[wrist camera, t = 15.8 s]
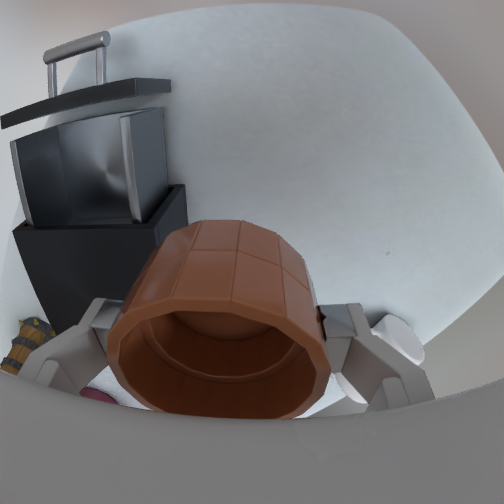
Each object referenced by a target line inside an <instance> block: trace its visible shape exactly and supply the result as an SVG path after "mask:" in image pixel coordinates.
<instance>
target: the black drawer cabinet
mask: <svg viewBox="0 0 504 504" xmlns="http://www.w3.org/2000/svg"><path fill="white" fill-rule="evenodd" d="M168 188H169V195H168V197H167V198H166V199H165V201H164V202H163V203H162V204H161V206H160V207H159V208H158V210H157V211H156V212H155V214H154V215H153V216H152V218H151V219H150V220H149V222H148V223H147V224H93V225H55V226H28V224H27V221H26V220H25V221H24V222H22V223H21V224H20V225H19V226H17V227H16V228H15V229H14V230H13V231H12V232H13V235H14V238H15V241H16V244H17V247H18V250H19V253H20V256H21V258H22V261H23V264H24V266H25V269H26V271H27V274H28V276H29V279H30V281H31V283H32V286H33V288H34V290H35V293H36V295H37V297H38V299H39V302H40V304H41V306H42V308H43V310H44V312H45V314H46V316H47V318H48V320H49V322H50V324H51V326H52V328H53V330H54V332H55V334H56V336H58V335H59V334H61V333H63V332H64V331H66V330H67V329H69V328H71V327H72V326H74V325H77V326H78V324H79V322H80V321H81V319H82V317H83V316H84V314H85V313H86V311H87V309H88V308H89V306H90V305H91V303H92V301H93V300H94V299H95V298H97V297H98V298H107V299H108V298H110V299H120V300H125V299H126V297H127V295H128V293H129V291H130V290H131V288H132V286H133V284H134V283H135V281H136V279H137V277H138V275H139V274H140V272H141V270H142V268H143V266H144V265H145V263H146V261H147V260H148V258H149V256H150V255H151V253H152V252H153V251H154V250H155V249H156V248H157V247H158V245H159V244H160V243H161V242H162V241H163V240H164V239H165V238H166V236H167V235H169V234H170V233H171V232H174V231H176V230H179V229H181V228H183V227H186V226H188V216H187V205H186V193H185V184H173V185H168Z"/></svg>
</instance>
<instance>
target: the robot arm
mask: <svg viewBox="0 0 504 504" xmlns="http://www.w3.org/2000/svg"><path fill="white" fill-rule="evenodd" d="M124 301H125V300H120V299H110V298H108V299H107V298H98V297H97V298H95V299H94V300H93V301H92V303H91V305H90V306H89V308H88V309H87V311H86V313H85V314H84V316H83V317H82V319H81V321H80V322H79V324H78V326H77V325H74V326H72V327H71V328H69V329H67V330H66V331H64V332H63V333H61V334H59V335H58V336H56V337H55V338H53V339H51V340H50V341H48V342H47V343H45V344H43V345H42V346H40V347H39V348H37V349H36V350H34V351H33V352H31V353H30V354H29V356H28V357H27V359H26V360H25V362H24V364H23V366H22V367H21V369H20V371H19V372H18V374H17V376H16V375H13V374H11V373H8V372H6V371H3V370H1V369H0V504H504V378H503V379H500V380H498V381H495V382H492V383H489V384H486V385H483V386H480V387H477V388H474V389H470V390H467V391H464V392H460V393H457V394H453V395H450V396H446V397H442V398H438V399H435V396H434V394H433V391H432V388H431V386H430V384H429V381H428V379H427V376H426V374H425V372H424V371H423V370H422V369H421V368H420V367H418V366H417V365H416V364H414V363H413V362H412V361H410V360H409V359H408V358H406V357H405V356H404V355H402V354H401V353H400V352H398V351H397V350H396V349H394V348H393V347H392V346H390V345H389V344H388V343H386V342H385V341H384V340H382V339H381V338H380V337H378V336H377V335H372V332H371V329H370V327H369V324H368V321H367V319H366V316H365V314H364V311H363V309H362V306H361V304H360V303H349V304H331V305H318V308H319V313H320V317H321V321H322V327H323V331H324V336H325V341H326V345H327V349H328V354H329V359H330V364H331V373H339V372H341V374H342V375H343V376H344V377H345V378H346V379H347V381H348V382H349V383H350V384H351V385H352V386H353V387H354V388H355V389H356V391H357V392H358V393H359V394H360V395H361V396H362V397H363V398H364V399H365V401H366V402H367V403H368V404H369V406H368V408H367V410H366V411H365V412H364V413H356V414H348V415H338V416H328V417H315V418H295V419H234V418H215V417H202V416H191V415H181V414H173V413H165V412H158V411H151V410H145V409H139V408H133V407H128V406H122V405H117V404H112V403H108V402H103V401H99V400H95V399H90V398H86V397H82V396H81V395H80V394H79V391H80V390H82V389H83V388H84V387H85V386H86V385H87V384H88V383H89V382H90V381H91V380H92V379H93V378H95V377H96V376H97V375H98V374H99V373H100V372H101V371H102V370H103V369H104V368H105V367H107V366H108V365H109V364H108V362H107V360H106V352H107V334H108V332H109V330H110V328H111V326H112V324H113V322H114V320H115V318H116V316H117V314H118V312H119V310H120V308H121V306H122V304H123V303H124Z"/></svg>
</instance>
